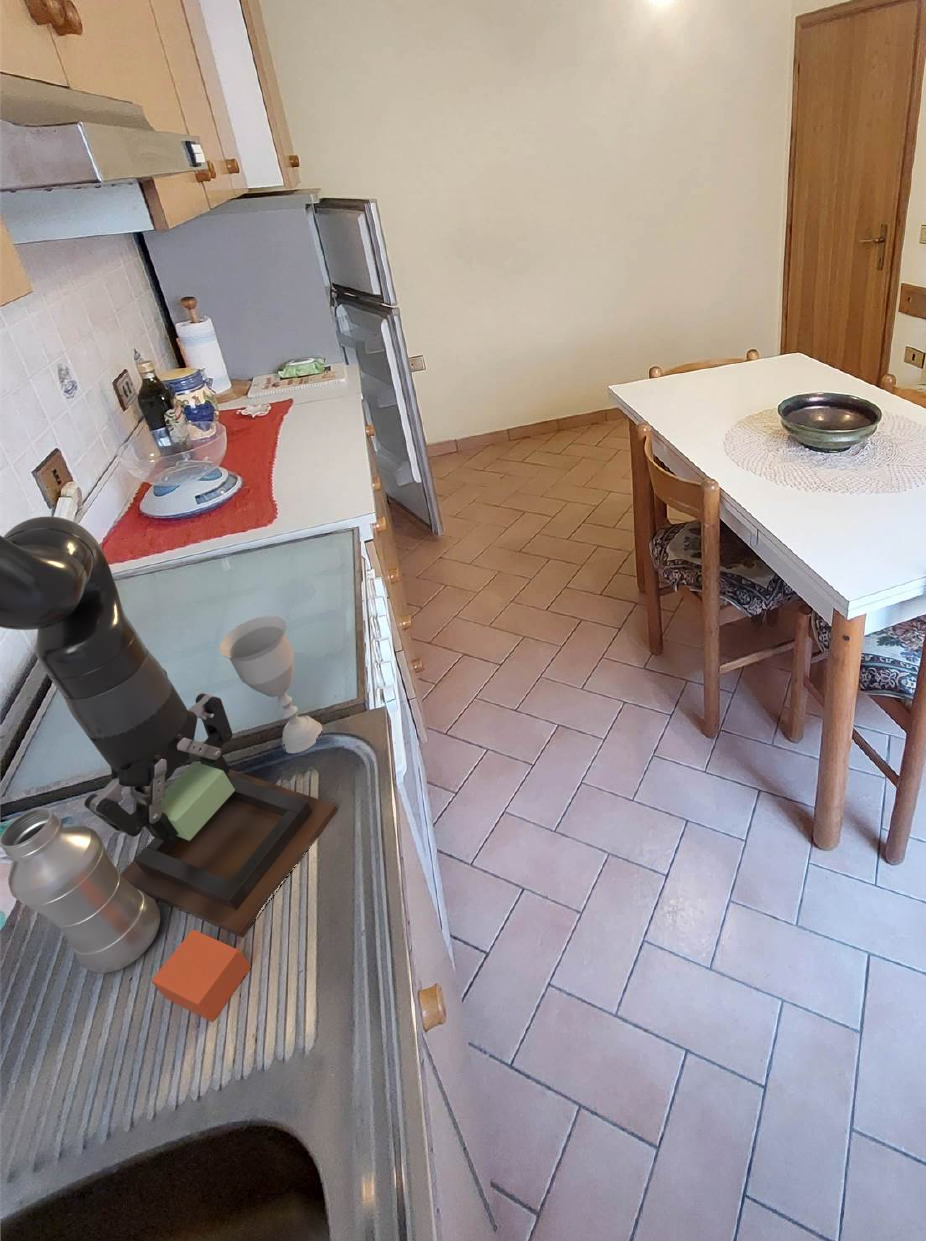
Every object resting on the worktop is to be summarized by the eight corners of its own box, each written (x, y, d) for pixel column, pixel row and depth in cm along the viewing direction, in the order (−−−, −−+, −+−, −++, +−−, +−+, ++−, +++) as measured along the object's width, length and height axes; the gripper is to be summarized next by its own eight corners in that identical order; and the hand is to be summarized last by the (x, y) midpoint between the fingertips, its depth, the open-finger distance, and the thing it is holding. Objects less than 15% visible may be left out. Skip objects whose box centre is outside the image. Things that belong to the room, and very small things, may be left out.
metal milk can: (169, 950, 67) (71, 832, 57) (89, 999, 64) (-30, 883, 54) (166, 895, 71) (75, 777, 62) (91, 938, 68) (-18, 821, 59)
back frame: (120, 883, 73) (107, 868, 72) (225, 771, 84) (215, 756, 83) (242, 938, 67) (231, 922, 66) (338, 809, 78) (330, 794, 77)
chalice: (332, 707, 92) (288, 609, 83) (329, 747, 86) (282, 646, 77) (275, 725, 90) (224, 626, 81) (269, 767, 84) (213, 666, 76)
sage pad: (189, 841, 71) (175, 821, 69) (159, 829, 72) (145, 809, 70) (235, 790, 76) (223, 770, 74) (206, 780, 77) (194, 760, 75)
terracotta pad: (166, 999, 63) (150, 981, 61) (206, 947, 67) (192, 928, 65) (212, 1022, 61) (197, 1004, 59) (251, 968, 65) (238, 949, 63)
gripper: (165, 642, 73) (224, 743, 81) (24, 755, 61) (110, 860, 69) (215, 655, 70) (272, 758, 78) (79, 776, 58) (161, 882, 67)
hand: (196, 806), depth 74 cm, fingers closed on sage pad, 6 cm apart
